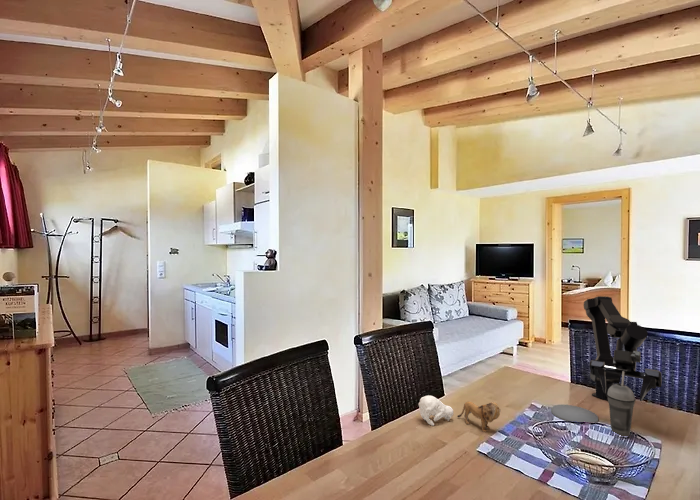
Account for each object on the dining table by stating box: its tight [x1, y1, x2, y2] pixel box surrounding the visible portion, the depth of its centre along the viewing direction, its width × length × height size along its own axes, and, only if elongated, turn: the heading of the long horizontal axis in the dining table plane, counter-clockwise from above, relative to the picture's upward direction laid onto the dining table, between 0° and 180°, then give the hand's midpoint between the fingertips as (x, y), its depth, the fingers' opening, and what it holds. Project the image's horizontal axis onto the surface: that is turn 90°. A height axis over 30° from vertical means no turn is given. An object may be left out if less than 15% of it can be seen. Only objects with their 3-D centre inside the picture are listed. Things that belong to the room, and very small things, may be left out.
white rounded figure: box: [418, 395, 454, 427], centre depth 126 cm, size 6×8×12 cm
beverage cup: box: [607, 371, 636, 437], centre depth 118 cm, size 7×7×20 cm
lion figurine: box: [456, 401, 502, 433], centre depth 123 cm, size 15×5×9 cm, turn 44°
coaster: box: [550, 404, 599, 423], centre depth 131 cm, size 14×14×1 cm
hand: (622, 396), depth 119 cm, fingers open, 9 cm apart
